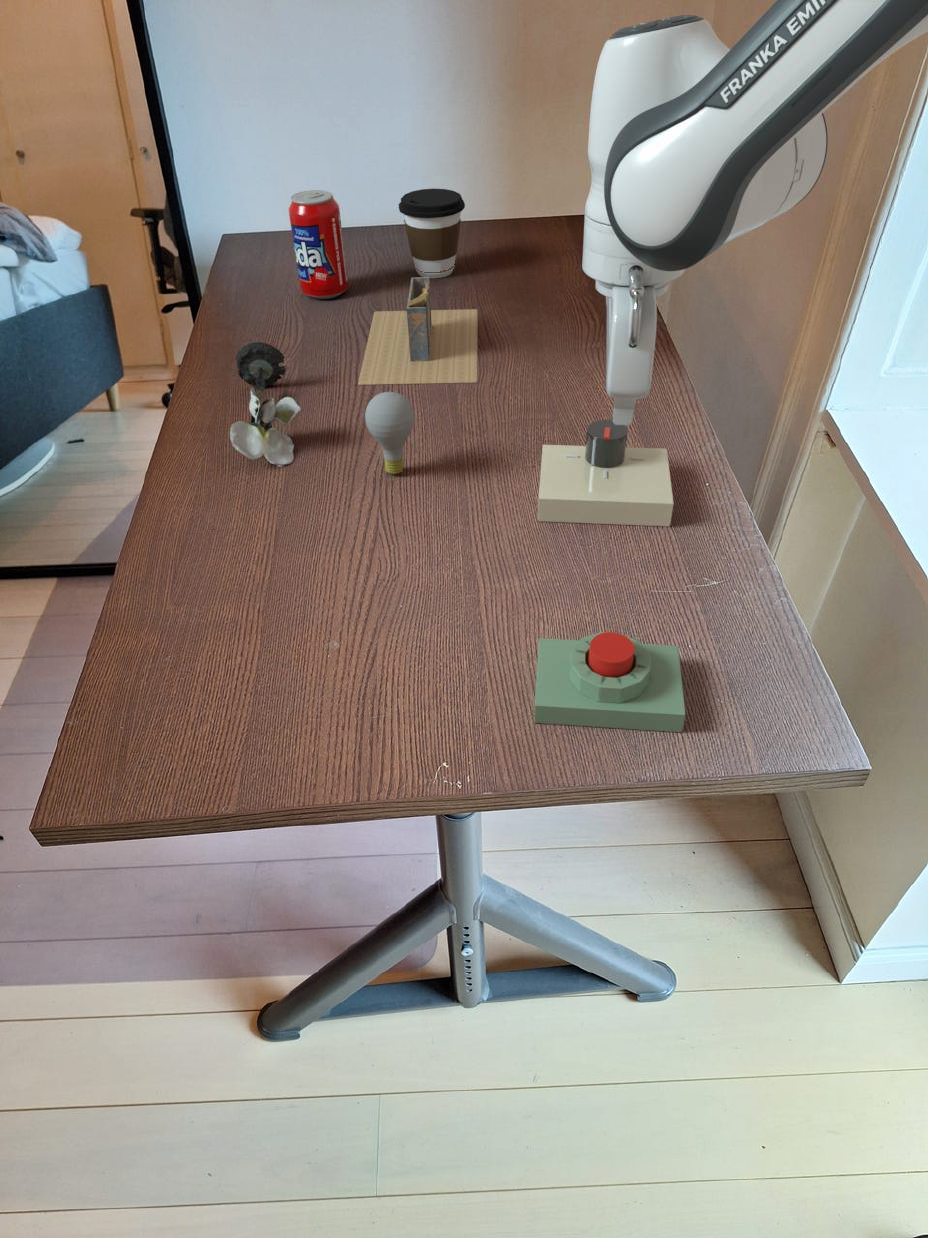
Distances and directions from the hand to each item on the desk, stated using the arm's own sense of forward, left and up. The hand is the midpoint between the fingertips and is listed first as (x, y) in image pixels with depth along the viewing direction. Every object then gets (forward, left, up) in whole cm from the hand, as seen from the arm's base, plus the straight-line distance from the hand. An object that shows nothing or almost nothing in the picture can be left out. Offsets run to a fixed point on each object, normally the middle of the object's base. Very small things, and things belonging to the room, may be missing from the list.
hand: (621, 397), depth 81 cm
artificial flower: (+43, -18, -15) cm, 48 cm away
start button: (+1, +25, -11) cm, 27 cm away
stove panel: (+1, -5, -14) cm, 15 cm away
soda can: (+46, -62, -15) cm, 78 cm away
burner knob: (+1, -8, -11) cm, 14 cm away
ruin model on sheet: (+27, -43, -15) cm, 52 cm away
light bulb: (+25, -8, -15) cm, 30 cm away
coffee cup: (+29, -72, -15) cm, 79 cm away
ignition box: (+1, +25, -14) cm, 29 cm away
